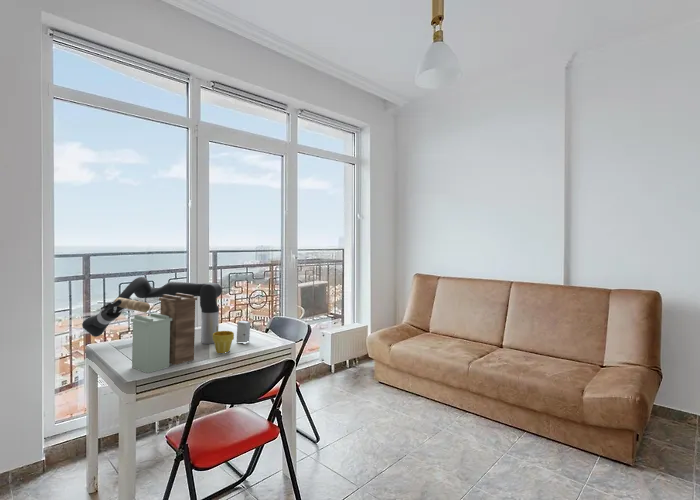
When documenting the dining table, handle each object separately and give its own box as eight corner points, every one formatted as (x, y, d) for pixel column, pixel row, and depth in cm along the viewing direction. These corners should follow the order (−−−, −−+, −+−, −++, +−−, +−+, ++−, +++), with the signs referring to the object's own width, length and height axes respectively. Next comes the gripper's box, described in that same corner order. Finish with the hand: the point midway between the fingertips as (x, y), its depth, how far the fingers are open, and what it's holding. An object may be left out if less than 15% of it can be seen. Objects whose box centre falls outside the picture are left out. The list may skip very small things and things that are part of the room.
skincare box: (236, 343, 214) (236, 321, 214) (241, 341, 219) (241, 320, 218) (245, 344, 212) (245, 323, 212) (250, 342, 216) (250, 321, 216)
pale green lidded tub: (129, 368, 169) (130, 316, 169) (155, 361, 179) (156, 312, 179) (145, 373, 163) (146, 319, 162) (171, 366, 173) (172, 315, 173)
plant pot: (227, 355, 192) (227, 336, 191) (208, 353, 194) (208, 334, 193) (236, 349, 202) (237, 331, 202) (218, 348, 204) (219, 330, 203)
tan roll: (114, 307, 183) (114, 298, 183) (123, 305, 186) (123, 297, 186) (140, 312, 171) (140, 303, 171) (149, 311, 175) (150, 301, 175)
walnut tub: (157, 360, 180) (158, 295, 180) (180, 354, 191) (181, 292, 190) (173, 365, 174) (174, 297, 173) (195, 359, 184) (197, 294, 184)
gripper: (91, 309, 184) (107, 294, 176) (121, 305, 196) (138, 291, 188) (95, 323, 182) (112, 309, 174) (125, 319, 194) (142, 305, 187)
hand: (125, 300), depth 181 cm, fingers closed on tan roll, 4 cm apart
